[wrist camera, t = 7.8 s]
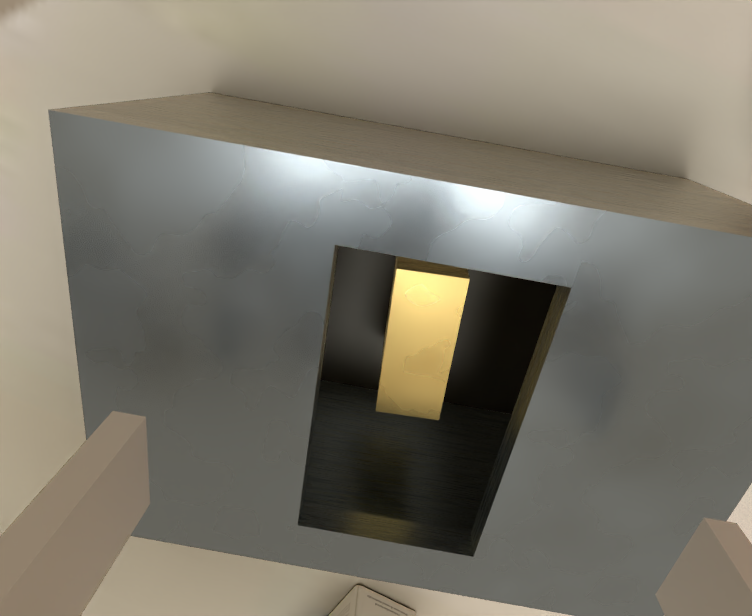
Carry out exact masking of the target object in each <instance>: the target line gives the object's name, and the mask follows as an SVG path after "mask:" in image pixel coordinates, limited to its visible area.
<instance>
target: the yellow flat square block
mask: <svg viewBox="0 0 752 616" xmlns="http://www.w3.org/2000/svg"><path fill="white" fill-rule="evenodd" d="M469 280H470V278H469V274H468V270H467V269H466V268H460V267H455V266H449V265H444V264H438V263H433V262H427V261H421V260H416V259H410V258H405V257H399V256H396V261H395V268H394V275H393V282H392V289H391V295H390V302H389V309H388V316H387V323H386V330H385V336H384V344H383V353H382V361H381V369H380V377H379V385H378V394H377V402H376V410H375V411H378V412H385V413H392V414H399V415H406V416H413V417H420V418H427V419H434V420H439V417H440V413H441V408H442V404H443V399H444V395H445V390H446V385H447V381H448V376H449V372H450V367H451V363H452V358H453V353H454V349H455V344H456V340H457V335H458V331H459V326H460V321H461V317H462V312H463V308H464V303H465V299H466V294H467V290H468V285H469Z"/></svg>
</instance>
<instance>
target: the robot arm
mask: <svg viewBox="0 0 752 616" xmlns="http://www.w3.org/2000/svg"><path fill="white" fill-rule="evenodd" d="M149 504H150V491H149V470H148V449H147V428H146V417H144V416H139V415H133V414H128V413H122V412H117V411H112V412H111V413H110V415H109V416H108V417H107V418H106V419H105V420H104V421H103V422H102V424H101V425H100V426H99V427H98V428H97V429H96V430H95V431H94V432H93V434H92V435H91V436H90V437H89V438H88V439H87V440H86V441H85V443H84V444H83V445H82V446H81V447H80V448H79V449H78V450H77V451H76V453H75V454H74V455H73V456H72V457H71V458H70V459H69V460H68V461H67V463H66V464H65V465H64V466H63V467H62V468H61V469H60V470H59V472H58V473H57V474H56V475H55V476H54V477H53V478H52V479H51V480H50V482H49V483H48V484H47V485H46V486H45V487H44V488H43V489H42V491H41V492H40V493H39V494H38V495H37V496H36V497H35V498H34V499H33V501H32V502H31V503H30V504H29V505H28V506H27V507H26V508H25V509H24V511H23V512H22V513H21V514H20V515H19V516H18V517H17V518H16V520H15V521H14V522H13V523H12V524H11V525H10V526H9V527H8V528H7V530H6V531H5V532H4V533H3V534H2V535H1V536H0V616H81V614H82V613H83V611H84V610H85V608H86V606H87V605H88V603H89V601H90V600H91V598H92V597H93V595H94V593H95V592H96V590H97V589H98V587H99V585H100V584H101V582H102V580H103V579H104V577H105V576H106V574H107V572H108V571H109V569H110V568H111V566H112V564H113V563H114V561H115V559H116V558H117V556H118V555H119V553H120V551H121V550H122V548H123V546H124V545H125V543H126V542H127V540H128V538H129V537H130V535H131V534H132V532H133V530H134V529H135V527H136V525H137V524H138V522H139V521H140V519H141V517H142V516H143V514H144V513H145V511H146V509H147V508H148V506H149ZM655 595H656V597H657V599H658V602H659V604H660V606H661V608H662V610H663V613H664V615H665V616H752V544H751V543H750V541H749V540H748V539H747V537H746V536H745V534H744V533H743V531H742V530H741V529H740V527H739V526H738V524H737V523H732V522H726V521H721V520H715V519H710V518H703V520H702V521H701V523H700V524H699V526H698V528H697V529H696V531H695V532H694V534H693V535H692V537H691V539H690V540H689V542H688V543H687V545H686V547H685V548H684V550H683V551H682V553H681V555H680V556H679V558H678V559H677V561H676V562H675V564H674V566H673V567H672V569H671V570H670V572H669V574H668V575H667V577H666V578H665V580H664V582H663V583H662V585H661V586H660V588H659V589H658V591H657V593H656V594H655Z"/></svg>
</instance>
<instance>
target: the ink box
mask: <svg viewBox="0 0 752 616" xmlns="http://www.w3.org/2000/svg"><path fill="white" fill-rule="evenodd" d="M328 616H416V612H415V611H413V610H411V609H409V608H407V607H405V606H403V605H401V604H398V603H396V602H394V601H392V600H390V599H388V598H386V597H384V596H382V595H380V594H378V593H376V592H374V591H371V590H369V589H367V588H365V587H363V586H360V585H356V586H355V587H354V588H353V589H352V590H351V591H350V592H349V593H348V594H347V595H346V597H345V598H344V599H343V600H342V601H341V602H340V603H339V605H338V606H337V607H336V608H335V609H334V610H333V611H332V612H331V613H330V614H329V615H328Z"/></svg>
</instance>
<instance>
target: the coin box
mask: <svg viewBox="0 0 752 616" xmlns="http://www.w3.org/2000/svg"><path fill="white" fill-rule="evenodd" d="M48 111H49V120H50V128H51V137H52V146H53V154H54V163H55V172H56V180H57V189H58V197H59V206H60V215H61V223H62V232H63V241H64V249H65V258H66V267H67V275H68V284H69V293H70V301H71V310H72V319H73V327H74V336H75V345H76V353H77V362H78V371H79V379H80V388H81V397H82V405H83V414H84V423H85V431H86V440H87V439H88V438H89V437H90V436H91V435H92V434H93V432H94V431H95V430H96V429H97V428H98V427H99V426H100V425H101V424H102V422H103V421H104V420H105V419H106V418H107V417H108V416H109V415H110V413H111V412H112V411H117V412H122V413H128V414H133V415H139V416H144V417H146V428H147V449H148V470H149V491H150V504H149V506H148V508H147V509H146V511H145V513H144V514H143V516H142V517H141V519H140V521H139V522H138V524H137V525H136V527H135V529H134V530H133V532H132V534H131V535H130V536H135V537H140V538H146V539H151V540H157V541H163V542H168V543H174V544H179V545H185V546H190V547H196V548H201V549H207V550H213V551H218V552H224V553H229V554H235V555H240V556H246V557H251V558H257V559H263V560H268V561H274V562H279V563H285V564H290V565H296V566H301V567H307V568H313V569H318V570H324V571H329V572H335V573H340V574H346V575H351V576H357V577H362V578H368V579H374V580H379V581H385V582H390V583H396V584H401V585H407V586H412V587H418V588H424V589H429V590H435V591H440V592H446V593H451V594H457V595H462V596H468V597H474V598H479V599H485V600H490V601H496V602H501V603H507V604H512V605H518V606H524V607H529V608H535V609H540V610H546V611H551V612H557V613H562V614H568V615H574V616H664V613H663V610H662V608H661V606H660V604H659V602H658V599H657V597H656V595H655V594H656V593H657V591H658V589H659V588H660V586H661V585H662V583H663V582H664V580H665V578H666V577H667V575H668V574H669V572H670V570H671V569H672V567H673V566H674V564H675V562H676V561H677V559H678V558H679V556H680V555H681V553H682V551H683V550H684V548H685V547H686V545H687V543H688V542H689V540H690V539H691V537H692V535H693V534H694V532H695V531H696V529H697V528H698V526H699V524H700V523H701V521H702V520H703V518H710V519H715V520H721V521H727V519H728V518H729V516H730V515H731V513H732V512H733V510H734V509H735V507H736V506H737V504H738V503H739V501H740V500H741V498H742V497H743V495H744V494H745V492H746V491H747V489H748V488H749V486H750V485H751V483H752V205H751V204H748V203H746V202H743V201H741V200H738V199H736V198H734V197H731V196H729V195H726V194H724V193H721V192H719V191H716V190H714V189H711V188H709V187H706V186H704V185H701V184H699V183H697V182H694V181H692V180H689V179H685V178H679V177H674V176H668V175H663V174H657V173H652V172H646V171H641V170H635V169H630V168H624V167H619V166H613V165H608V164H602V163H597V162H591V161H586V160H580V159H575V158H569V157H564V156H558V155H552V154H547V153H541V152H536V151H530V150H525V149H519V148H514V147H508V146H503V145H497V144H492V143H486V142H481V141H475V140H470V139H464V138H459V137H453V136H448V135H442V134H437V133H431V132H426V131H420V130H415V129H409V128H404V127H398V126H393V125H387V124H382V123H376V122H371V121H365V120H360V119H354V118H348V117H343V116H337V115H332V114H326V113H321V112H315V111H310V110H304V109H299V108H293V107H288V106H282V105H277V104H271V103H266V102H260V101H255V100H249V99H244V98H238V97H233V96H227V95H222V94H216V93H211V92H208V93H199V94H190V95H181V96H171V97H162V98H153V99H144V100H134V101H125V102H116V103H107V104H97V105H88V106H79V107H70V108H60V109H51V110H48ZM339 246H344V247H350V248H355V249H361V250H366V251H372V252H377V253H383V254H388V255H394V256H399V257H405V258H410V259H416V260H421V261H427V262H433V263H438V264H444V265H449V266H455V267H460V268H466V269H471V270H477V271H482V272H488V273H493V274H499V275H504V276H510V277H515V278H521V279H526V280H532V281H537V282H543V283H549V284H554V285H557V287H556V290H555V293H554V296H553V298H552V301H551V304H550V307H549V310H548V313H547V316H546V318H545V321H544V324H543V327H542V330H541V333H540V336H539V338H538V341H537V344H536V347H535V350H534V353H533V356H532V358H531V361H530V364H529V367H528V370H527V373H526V376H525V378H524V381H523V384H522V387H521V390H520V393H519V396H518V398H517V401H516V404H515V407H514V410H513V413H512V414H508V413H503V412H497V411H492V410H486V409H481V408H475V407H470V406H464V405H459V404H453V403H448V402H443V404H442V408H441V413H440V417H439V420H434V419H427V418H420V417H413V416H406V415H399V414H392V413H385V412H378V411H375V410H376V402H377V394H378V390H376V389H370V388H364V387H359V386H353V385H348V384H342V383H337V382H331V381H326V380H320V379H321V372H322V364H323V357H324V350H325V342H326V335H327V328H328V321H329V313H330V306H331V299H332V291H333V284H334V277H335V269H336V262H337V255H338V248H339Z"/></svg>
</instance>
